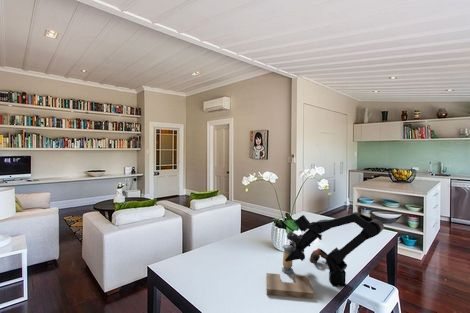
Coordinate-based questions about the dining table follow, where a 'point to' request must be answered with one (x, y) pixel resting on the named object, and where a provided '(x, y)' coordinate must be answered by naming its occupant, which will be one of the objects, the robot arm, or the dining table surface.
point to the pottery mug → (317, 255)
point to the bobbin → (288, 264)
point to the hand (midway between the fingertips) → (285, 257)
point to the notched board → (289, 286)
